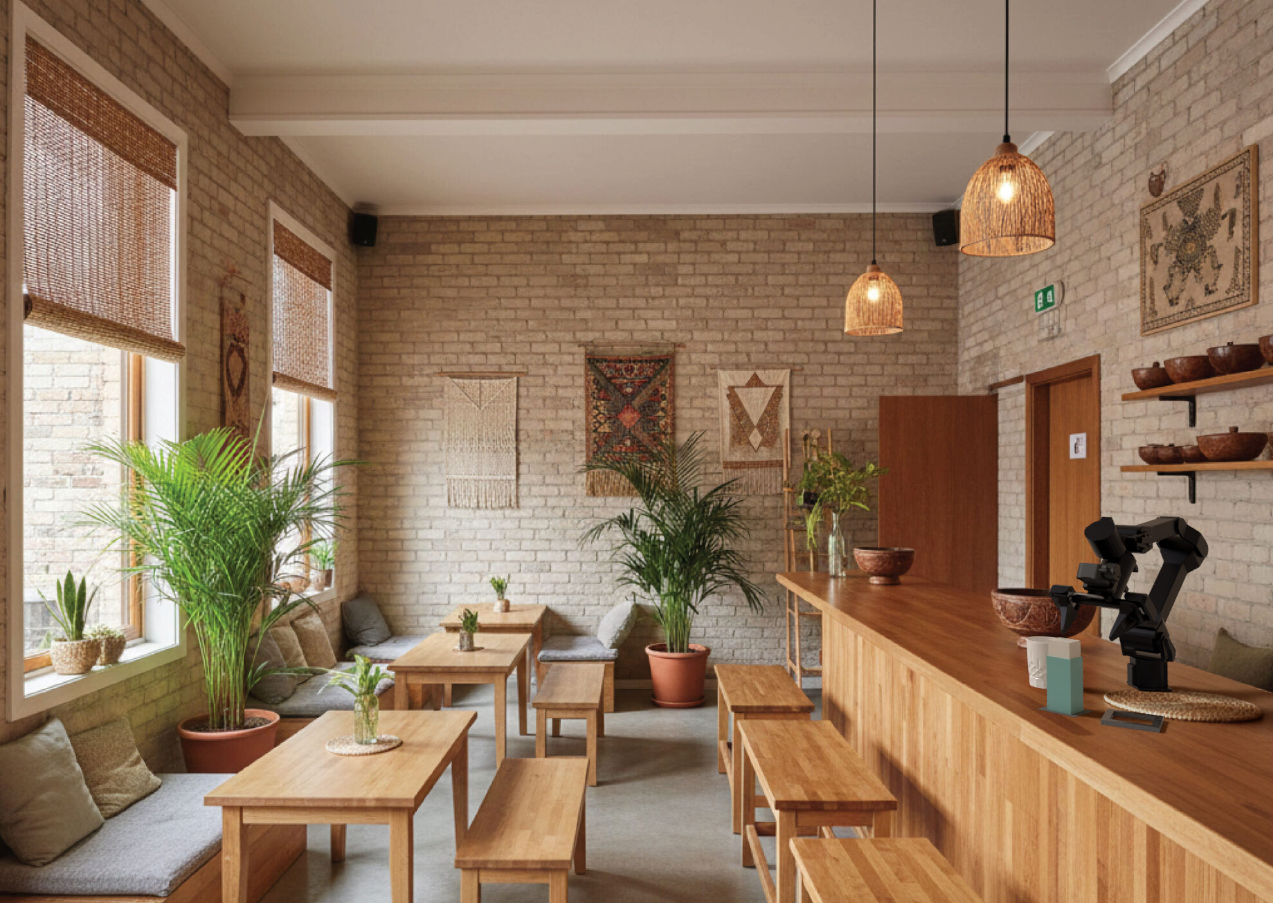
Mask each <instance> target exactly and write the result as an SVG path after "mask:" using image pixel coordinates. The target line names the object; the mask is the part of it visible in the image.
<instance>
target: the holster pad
mask: <svg viewBox="0 0 1273 903" xmlns="http://www.w3.org/2000/svg"><path fill="white" fill-rule="evenodd" d="M1038 710H1040V711H1042V712H1043V711H1045V712H1048V713H1053V714H1056V715H1062V716H1066V717H1070V718H1077V717H1080V716H1084V715H1087V714H1090V713H1094V710H1089V709H1085V708H1083V711H1081V712H1078V713H1075V714H1071V715H1070V714H1066V713H1061V712H1057V711H1052V710H1048V709H1047V705H1046V706H1043V707H1039V708H1038Z"/></svg>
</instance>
